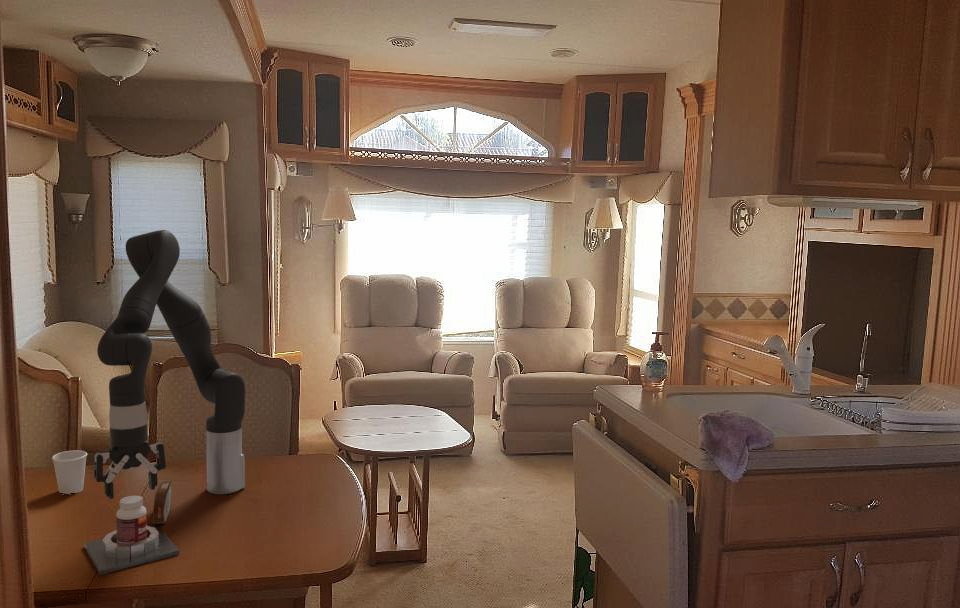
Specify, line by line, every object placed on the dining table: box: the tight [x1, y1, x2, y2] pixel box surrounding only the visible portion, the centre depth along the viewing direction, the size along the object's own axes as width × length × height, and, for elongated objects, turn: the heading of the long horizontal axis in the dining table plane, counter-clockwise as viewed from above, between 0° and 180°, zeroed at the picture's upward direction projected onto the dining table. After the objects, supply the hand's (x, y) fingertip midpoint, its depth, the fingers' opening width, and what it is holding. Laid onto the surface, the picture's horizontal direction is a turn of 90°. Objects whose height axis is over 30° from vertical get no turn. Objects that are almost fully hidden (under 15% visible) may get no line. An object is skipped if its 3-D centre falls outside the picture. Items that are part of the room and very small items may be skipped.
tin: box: [152, 479, 173, 525], centre depth 181 cm, size 15×3×8 cm, turn 16°
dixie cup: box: [51, 449, 88, 495], centre depth 196 cm, size 8×8×10 cm
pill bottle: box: [115, 495, 148, 544], centre depth 162 cm, size 6×6×11 cm
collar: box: [83, 525, 180, 576], centre depth 163 cm, size 16×16×4 cm
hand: (131, 493), depth 161 cm, fingers open, 8 cm apart
